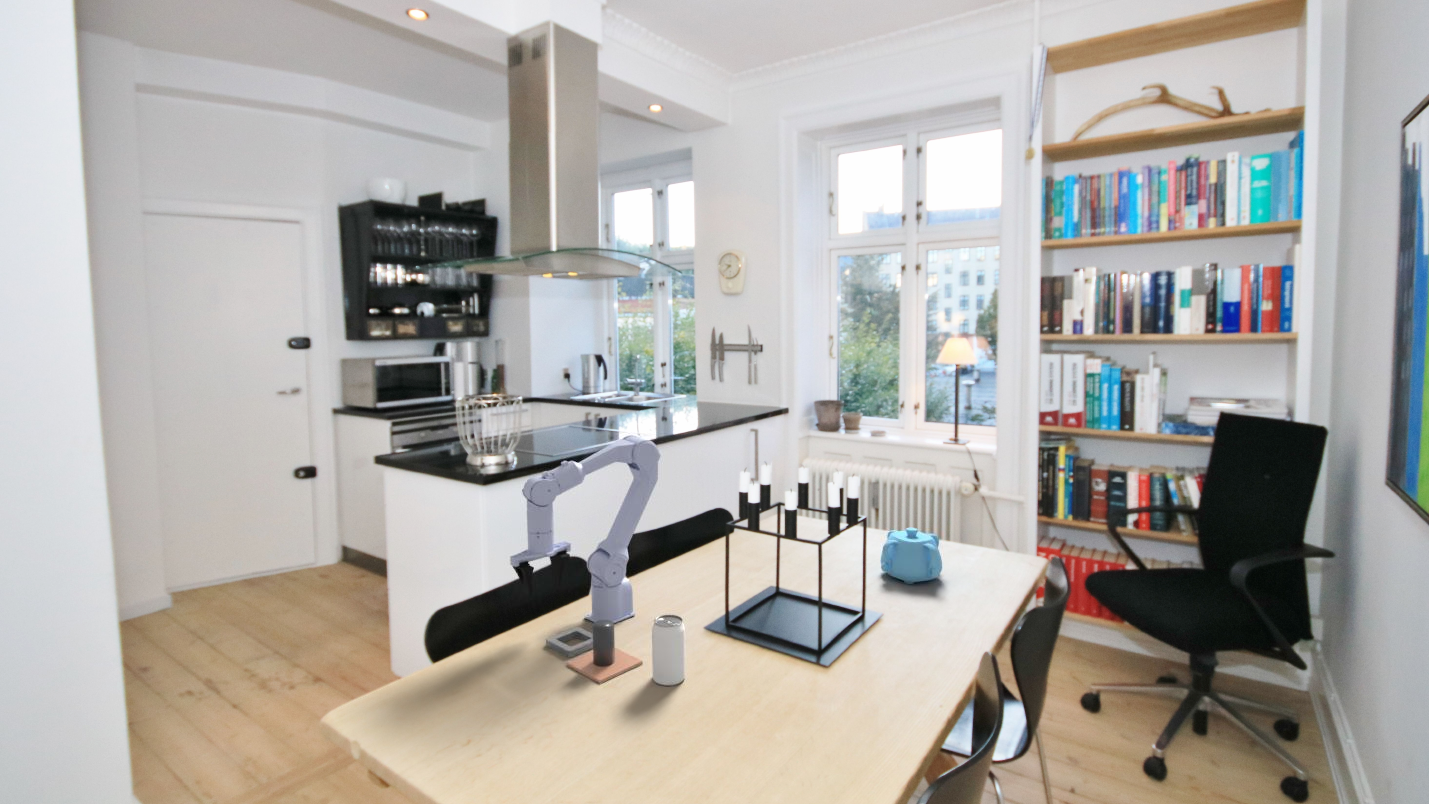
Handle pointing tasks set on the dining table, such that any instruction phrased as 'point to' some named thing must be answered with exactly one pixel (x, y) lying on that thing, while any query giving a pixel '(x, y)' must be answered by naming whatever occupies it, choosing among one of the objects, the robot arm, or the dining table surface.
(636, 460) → the robot arm
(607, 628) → the plug
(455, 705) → the dining table surface
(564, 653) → the socket collar
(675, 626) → the can
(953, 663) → the dining table surface
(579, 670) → the tile
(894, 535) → the decorative pot
